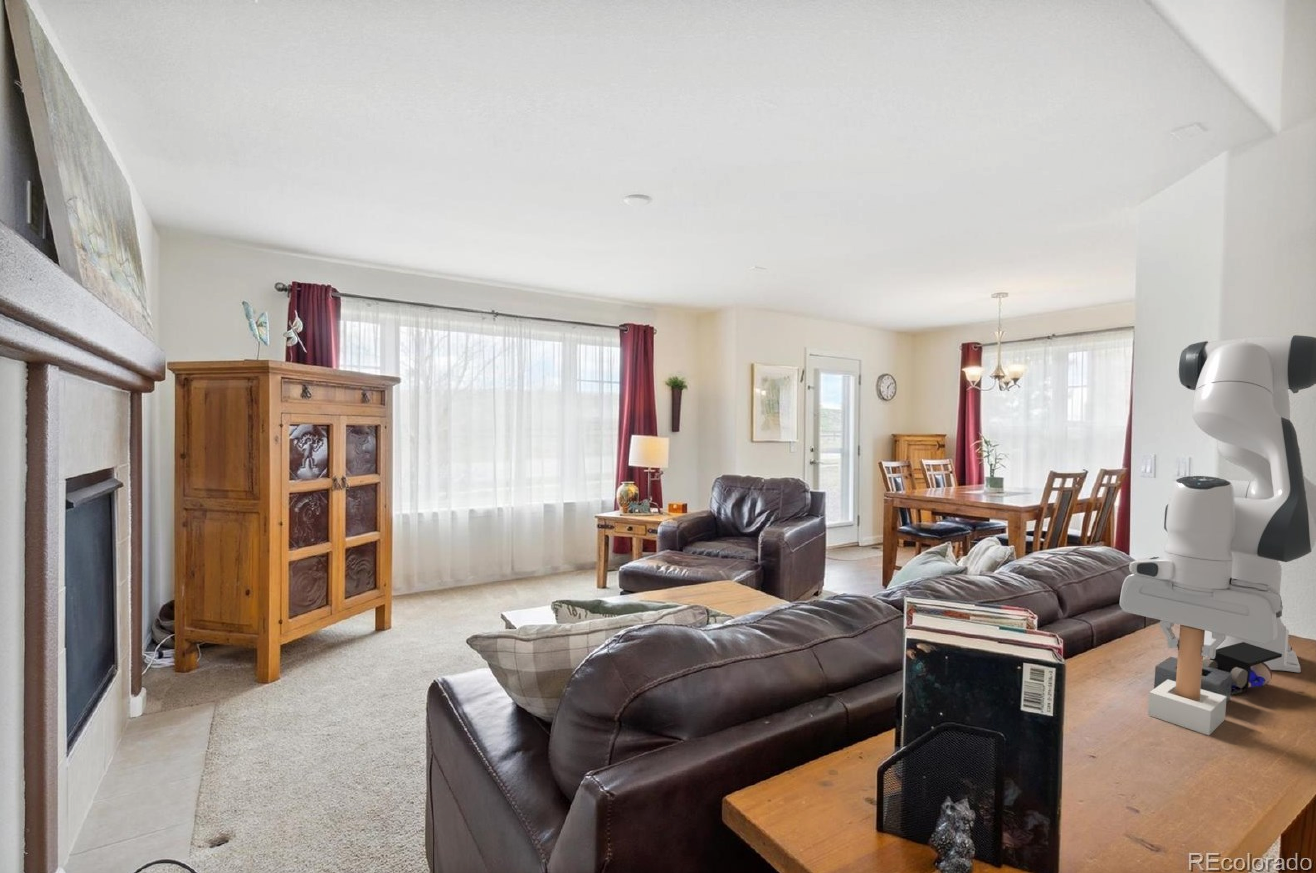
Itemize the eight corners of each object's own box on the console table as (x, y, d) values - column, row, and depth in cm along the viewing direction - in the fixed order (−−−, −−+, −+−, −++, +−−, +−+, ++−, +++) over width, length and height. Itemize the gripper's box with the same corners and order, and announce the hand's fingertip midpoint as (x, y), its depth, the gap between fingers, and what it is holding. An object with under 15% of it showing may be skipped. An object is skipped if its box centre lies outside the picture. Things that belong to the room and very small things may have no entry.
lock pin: (1178, 691, 108) (1183, 622, 107) (1202, 698, 105) (1207, 628, 105) (1172, 695, 106) (1177, 625, 106) (1196, 702, 103) (1202, 631, 103)
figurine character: (1241, 708, 114) (1283, 687, 120) (1241, 668, 113) (1284, 649, 119) (1196, 692, 120) (1239, 674, 126) (1197, 654, 119) (1239, 637, 125)
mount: (1168, 681, 121) (1170, 656, 121) (1230, 700, 114) (1232, 673, 113) (1153, 692, 115) (1155, 666, 115) (1217, 712, 108) (1219, 684, 108)
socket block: (1166, 701, 112) (1167, 679, 112) (1224, 719, 106) (1226, 696, 105) (1147, 715, 106) (1149, 692, 106) (1208, 735, 100) (1210, 711, 99)
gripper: (1286, 584, 98) (1279, 670, 99) (1131, 558, 115) (1126, 631, 115) (1278, 589, 95) (1271, 678, 95) (1119, 561, 111) (1113, 637, 112)
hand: (1190, 652), depth 105 cm, fingers closed on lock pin, 3 cm apart
